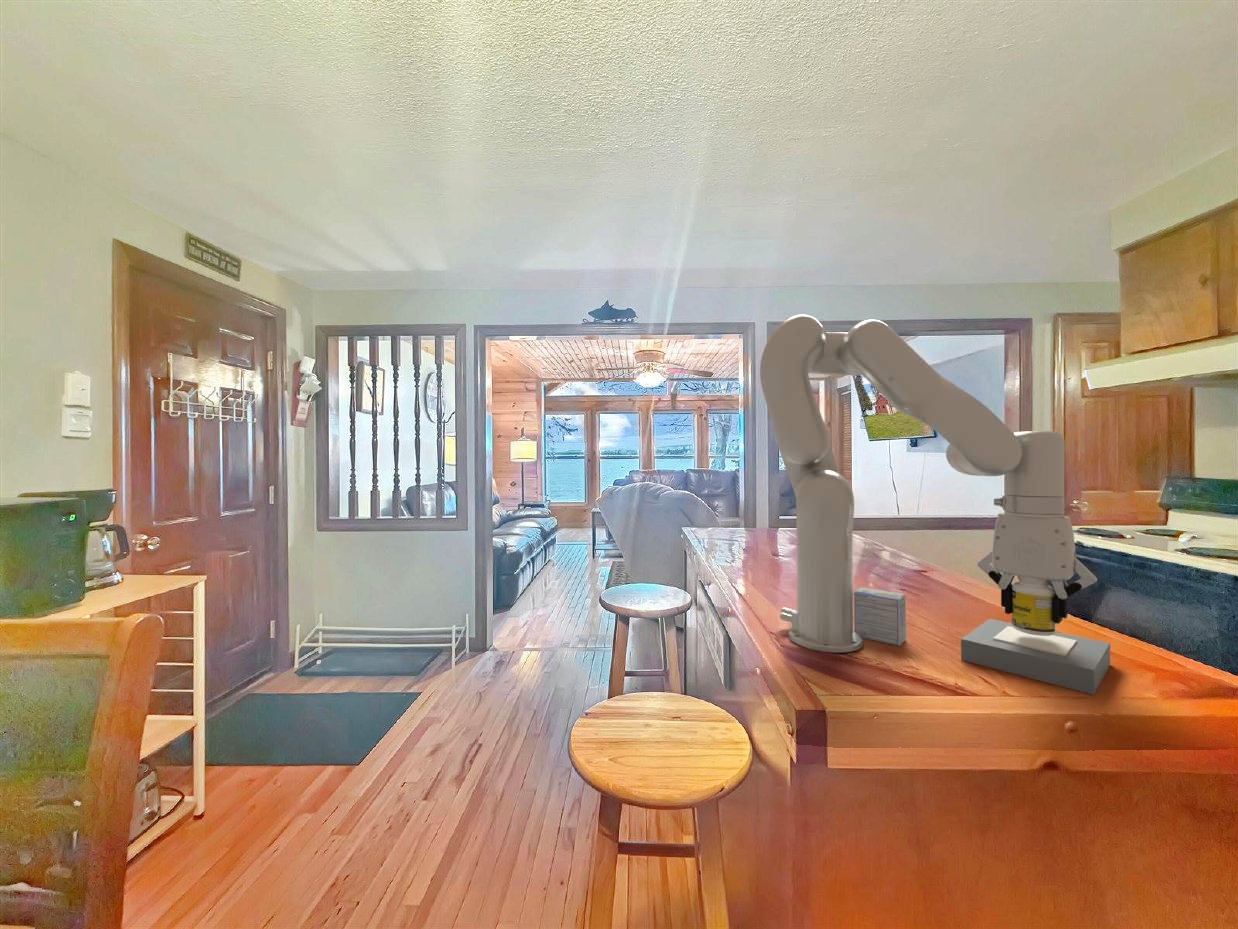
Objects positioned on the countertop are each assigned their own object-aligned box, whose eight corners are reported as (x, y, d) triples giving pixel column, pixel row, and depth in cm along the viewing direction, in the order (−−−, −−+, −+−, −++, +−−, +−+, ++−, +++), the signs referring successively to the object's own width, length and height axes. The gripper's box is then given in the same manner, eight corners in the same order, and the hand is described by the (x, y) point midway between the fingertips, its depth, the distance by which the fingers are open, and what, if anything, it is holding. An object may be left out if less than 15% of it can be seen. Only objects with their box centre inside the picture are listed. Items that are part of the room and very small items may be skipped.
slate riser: (961, 659, 81) (961, 637, 81) (989, 637, 92) (989, 617, 91) (1094, 695, 69) (1094, 668, 69) (1110, 664, 79) (1110, 641, 79)
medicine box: (906, 640, 90) (906, 593, 90) (900, 647, 87) (900, 598, 87) (860, 630, 96) (860, 586, 96) (853, 636, 93) (853, 591, 93)
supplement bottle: (1004, 624, 83) (1004, 567, 83) (1039, 626, 83) (1039, 568, 82) (1026, 636, 78) (1026, 574, 78) (1063, 637, 77) (1064, 575, 77)
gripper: (964, 504, 84) (964, 609, 85) (1103, 512, 71) (1102, 636, 71) (977, 502, 89) (977, 601, 89) (1110, 509, 76) (1109, 625, 76)
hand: (1033, 615), depth 80 cm, fingers closed on supplement bottle, 5 cm apart
